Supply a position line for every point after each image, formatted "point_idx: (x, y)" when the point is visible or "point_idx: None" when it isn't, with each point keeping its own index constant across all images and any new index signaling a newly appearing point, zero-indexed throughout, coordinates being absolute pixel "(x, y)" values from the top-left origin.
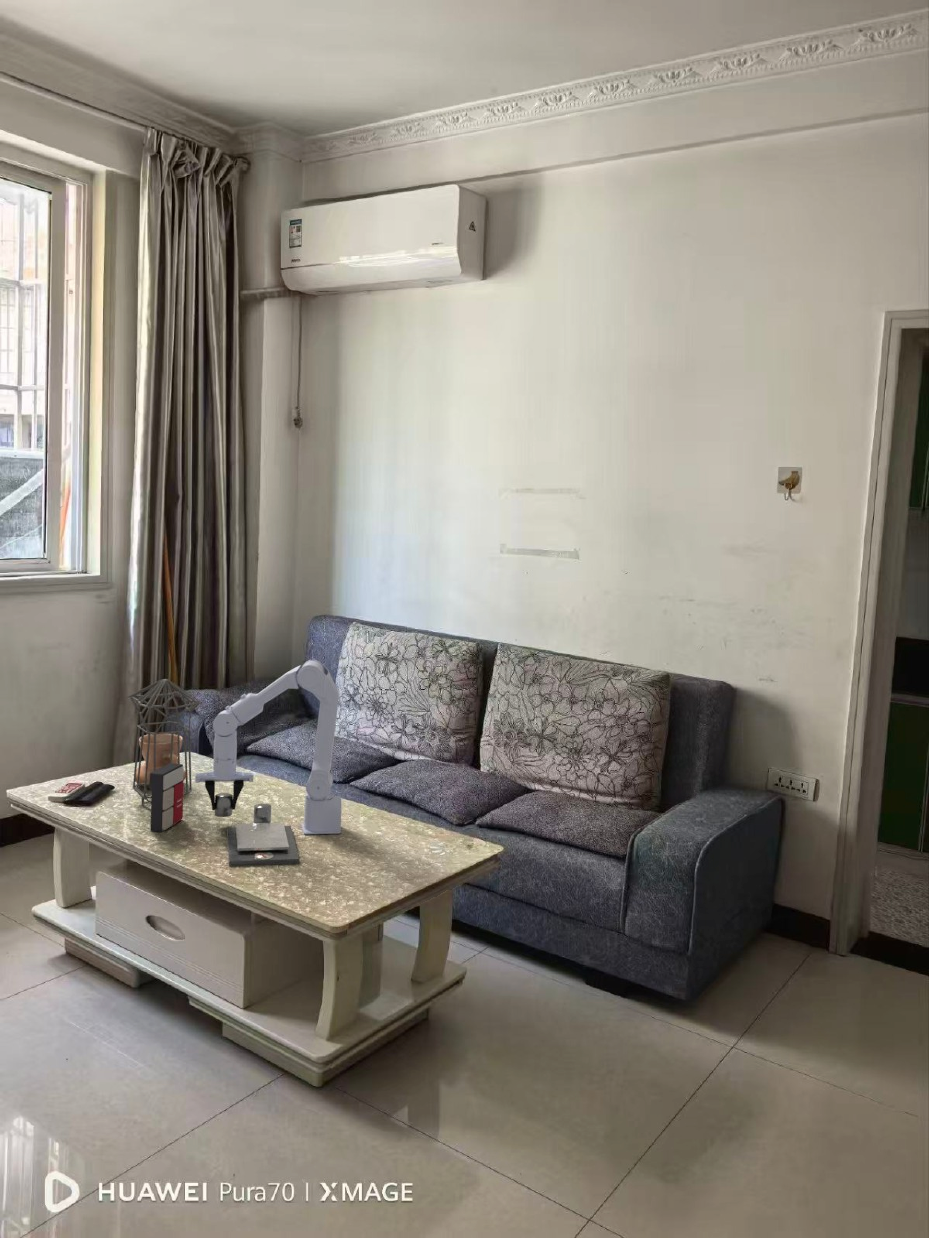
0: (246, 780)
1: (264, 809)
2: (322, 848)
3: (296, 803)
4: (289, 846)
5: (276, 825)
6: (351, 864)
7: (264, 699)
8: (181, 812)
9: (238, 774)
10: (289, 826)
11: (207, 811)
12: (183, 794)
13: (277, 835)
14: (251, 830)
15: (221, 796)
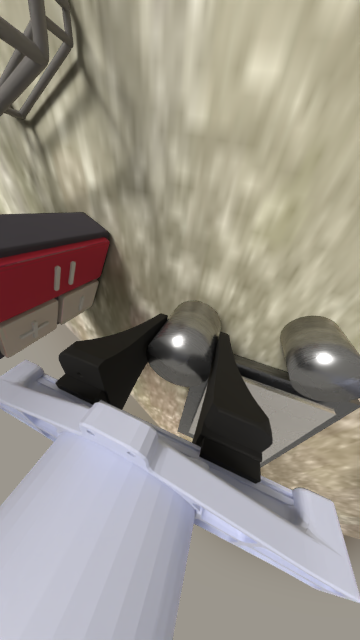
0: (268, 488)
1: (314, 396)
2: (334, 462)
3: None
4: None
5: (301, 416)
6: (326, 494)
7: None
8: (94, 252)
9: (210, 520)
10: (352, 406)
11: (182, 137)
12: (30, 81)
13: None
14: None
15: (166, 367)
